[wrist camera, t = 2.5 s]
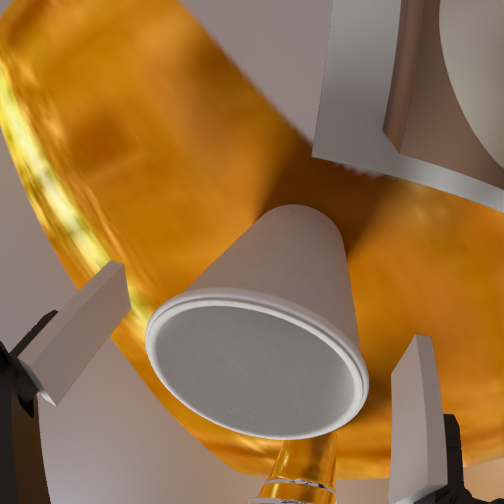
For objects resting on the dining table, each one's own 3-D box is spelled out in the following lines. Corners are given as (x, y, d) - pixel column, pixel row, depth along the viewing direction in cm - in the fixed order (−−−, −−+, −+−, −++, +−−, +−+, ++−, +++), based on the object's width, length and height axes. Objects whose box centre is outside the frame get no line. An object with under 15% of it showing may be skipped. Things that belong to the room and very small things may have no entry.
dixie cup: (207, 204, 19) (104, 309, 11) (344, 163, 15) (338, 269, 7) (258, 312, 22) (206, 435, 14) (378, 292, 19) (379, 438, 10)
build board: (588, 26, 5) (601, 26, 4) (551, 226, 13) (562, 238, 11) (342, -84, 8) (340, -96, 7) (314, 150, 16) (311, 156, 14)
